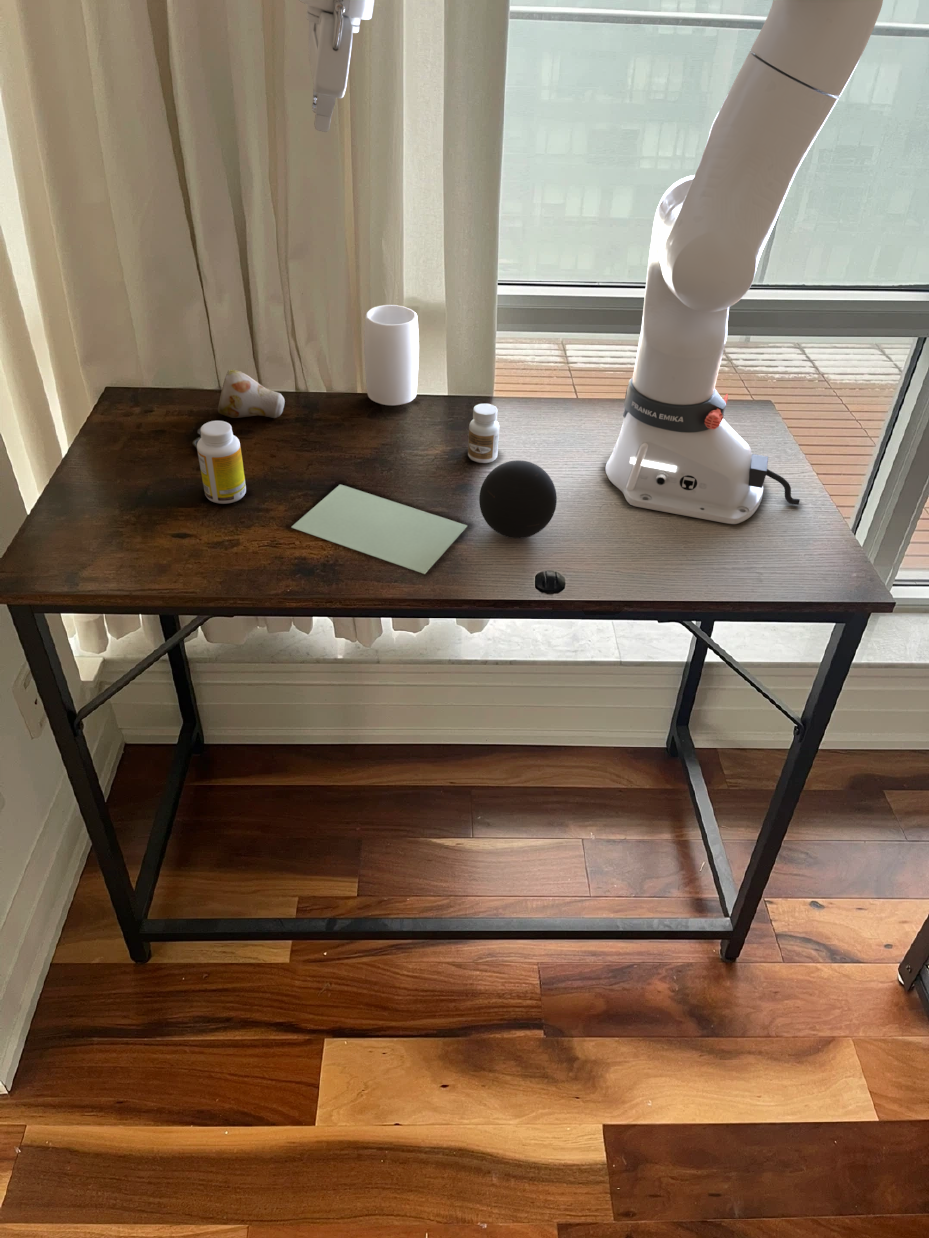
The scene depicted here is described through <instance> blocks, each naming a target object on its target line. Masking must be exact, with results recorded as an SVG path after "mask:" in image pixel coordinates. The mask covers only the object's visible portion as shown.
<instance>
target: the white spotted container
mask: <svg viewBox="0 0 929 1238" xmlns="http://www.w3.org/2000/svg"><path fill="white" fill-rule="evenodd" d="M218 401H219V402H218V406H217V407H218V408H217V410H218V412H217V413H218V414H220V415H222V416H224V417H227V418H232V419H241V418H248V417H256V416H257V417H259V416H260V417H266V418H271V419H277V418H279V417H281V415H282V414H283V412H284V408H285V402H286V401H285V397H284V396H283V395H282V393H280V392H278V391H275V390H271V389H268V388H267V387H264V386H263V385H262V384H261V383H259V382H258V381H256V380H255V379H254V378H252V377H251V376H249V374H246V373H245V372H242V371H240V370H236V369H228V370H227V372H226V374H225V376H224V380H223V384H222V387H221V391H220V396H219V400H218Z"/></svg>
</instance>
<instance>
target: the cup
mask: <svg viewBox="0 0 929 1238" xmlns="http://www.w3.org/2000/svg"><path fill="white" fill-rule="evenodd" d="M419 341H420V335H419V321H418V314H417V312H415V310H413V309H411V308H409V307H407V306H404V305H397V304H383V305H377V306H374V307H371V308H370V309H368V311H366V313H365V317H364V333H363V350H364V351H363V352H364V353H363V354H364V371H365V383H366V385H365V386H366V394H367V397H368V398H369V399H370V400H371V401H373V402H375V403H377V404H379V405H385V406H400V405H401V406H402V405H406V404H408V403H411V402H412V401H414V399H416V397H417V391H418V381H419V380H418V379H419V363H420V362H419V361H420V358H419V357H420V342H419Z"/></svg>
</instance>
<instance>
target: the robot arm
mask: <svg viewBox="0 0 929 1238" xmlns="http://www.w3.org/2000/svg"><path fill="white" fill-rule="evenodd" d="M298 1H299V2H301V3H302V4H305V5H306V13H305V18H306V20H307V21H308V62H309V67H310V74H311V80H312V99H311V110H312V112H313V113H314V114H315V116H314V129H315V131H319V132H323V133H329V131H330V127H331V122H332V116H333V112H334V110H335V106H336V100H337V99H343V98H344V97H345V95H346V91H347V85H348V80H349V79H348V78H349V72H350V71H349V70H350V63H351V55H352V47H353V36H354V35H353V34H357V33H359V32H360V25H361V20H362V21H363V20H364V21H369V20H372V18H373V12H374V6H375V0H298ZM883 3H884V0H772V4H771V7H770V9H769V12H768V13H767V17H766V19H765V21H764V23H763V24H762V27H761V28H760V31H759V33H758V35H757V36H756V39H755V40H754V42H753V44H752V46H751V47H750V50H749V52H748V54H747V56H746V58H745V60H744V61H743V64H742V65H741V68H740V69H739V71H738V73H737V75H736V78H735V79H734V81H733V82H732V85H731V87H730V89H729V90H728V93H727V95H726V96H725V99H724V101H723V103H722V104H721V106H720V108H719V110H718V112H717V114H716V116H715V118H714V120H713V122H712V124H711V127H710V130H709V133H708V134H709V135H708V138H707V141H706V143H705V147H704V150H703V152H702V155H701V158H700V160H699V163H698V165H697V168H696V171H695V173H694V175H689V176H685V177H683V178H680V179H679V180H677V181H675V182H674V183H673V184H672V185H671V186H670V187H668V188H667V190H666V191H665V192H664V194H663V195H662V197H661V199H660V201H659V203H658V206H657V207H656V211H655V214H654V219H653V225H652V232H651V240H650V245H649V247H650V248H649V255H648V262H647V263H648V264H647V271H646V281H645V289H644V290H645V291H644V299H643V300H644V301H643V310H642V320H641V328H640V334H639V339H638V346H637V351H636V357H635V363H634V367H633V373H632V377H631V378H630V379H629V380H628V384H627V387H626V391H625V396H624V402H623V415H622V416H623V421H622V425H621V429H620V430H619V434H618V438H617V440H616V442H615V445H614V447H613V450H612V453H611V454H610V457H609V458H608V460H607V462H606V464H605V474H606V476H607V478H608V480H609V481H610V482H611V484H613V485H614V486H615V487H616V488H617V489H618V490H620V491H621V493H622V494H623V496H624V498H625V500H626V502H627V503H628V504H629V505H631V506H633V507H637V508H642V509H647V510H653V511H657V512H658V511H659V512H662V513H663V512H664V513H670V514H675V515H680V516H685V517H690V518H696V519H701V520H706V521H711V522H717V523H723V524H728V525H738V524H740V523H743V522H745V521H746V520H748V519H749V518H751V517H752V516H753V515H754V514H755V512H756V511H757V510H758V509H759V506H760V505H761V502H762V499H763V494H764V483H765V479H766V476H767V477H769V478H771V479H773V480H774V481H775V482H777V483H779V484H781V486H782V487H783V488H784V499H785V501H786V502H787V503H788V504H790V505H797V506H799V504H800V501H801V499H800V498H793V497H792V488H791V485H790V483H789V481H788V480H787V479H786V478H784V477H783V476H781V475H779V474H777V473H776V472H774V471H772V470H770V469H769V468H768V466H769V465H768V464H769V456H767V455H761V454H756V453H752V448H751V446H750V445H749V444H748V442H747V441H745V439H743V437H742V436H740V434H738V433H737V432H736V430H735V429H734V428H733V427H732V426H731V425H730V424H729V423H728V422H727V421H726V419H724V416H725V413H726V409H727V404H728V399H729V394H728V393H726V394H725V395H724V397H722V396H721V395H720V393H719V392H718V390H717V389H716V385H717V380H718V376H719V371H720V369H721V368H720V367H721V363H722V359H723V354H724V351H725V347H726V343H727V338H728V321H729V311H730V307H732V306H734V305H736V304H737V303H738V302H739V301H741V299H743V297H745V295H746V294H747V293H748V291H749V290H750V289H751V286H752V284H753V282H754V280H755V276H756V273H757V268H758V265H759V261H760V258H761V256H762V253H763V250H764V248H765V246H766V244H767V242H768V240H769V238H770V235H771V233H772V231H773V228H774V226H775V225H776V222H777V219H778V217H779V215H780V212H781V210H782V207H783V205H784V203H785V199H786V197H787V195H788V192H789V190H790V187H791V185H792V183H793V181H794V178H795V176H796V174H797V172H798V170H799V168H800V167H801V165H802V163H803V161H804V159H805V157H806V156H807V154H808V152H809V150H810V149H811V147H812V145H813V144H814V142H815V140H816V138H817V137H818V135H819V133H820V131H821V130H822V128H823V126H824V125H825V123H826V122H827V120H828V118H829V116H830V114H831V113H832V111H833V109H834V108H835V106H836V104H837V103H838V102H839V101H838V100H839V99H840V97H841V96H842V94H843V92H844V90H845V89H846V87H847V85H848V83H849V82H850V79H851V78H852V76H853V74H854V72H855V70H856V68H857V66H858V64H859V63H860V60H861V58H862V56H863V54H864V51H865V49H866V48H867V45H868V42H869V40H870V38H871V36H872V33H873V31H874V28H875V25H876V23H877V21H878V18H879V15H880V13H881V10H882V7H883Z"/></svg>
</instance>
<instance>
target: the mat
mask: <svg viewBox="0 0 929 1238" xmlns="http://www.w3.org/2000/svg"><path fill="white" fill-rule="evenodd" d="M290 528H291V529H294V530H296V531H299V532H303V533H305V534H308V535H311V536H314V537H317V538H320V539H323V540H324V541H328V542H331V543H334V544H337V545H340V546H342V547H345V548H347V549H351V550H353V551H356V552H359V553H362V554H365V555H368V556H371V557H373V558H376V559H380V560H383V561H385V562H389V563H391V564H393V565H397V566H400V567H403V568H405V569H409V570H411V571H414V572H417V573H419V574H423V575H426V574H427V573H428V572H429V570H430V569H432V567H433V566H434V565H435V564H436V563H437V561H439V559H441V557H442V556H443V554H444V553H445V552H446V551H447V550H448V549H449V548H450V547H451V546H452V545H453V543H454V542H455V541H456V540H457V539H458V538H459V537H460V536H461V534H462V533H463V532H464V531H465V530H466V529H467V528H468V525H467V524H464V523H461V522H457V521H455V520H451V519H448V518H446V517H442V516H440V515H436V514H434V513H430V512H427V511H424V510H421V509H418V508H414V507H411V506H408V505H406V504H402V503H399V502H396V501H394V500H390V499H387V498H384V497H380V496H378V495H375V494H371V493H370V492H369V493H368V492H366V491H362V490H360V489H356V488H354V487H350V486H347V485H343V484H338V486H336V487H335V488H334V489H333V490H331V491H330V492H329V493H328V494H327V495H326V496H325V497H324V498H322V500H320V501H319V502H318V503H317V504H315V506H314V507H312V508H311V509H310V510H309V511H307V512H306V513H305V514H304V515H303V516H301V518H299V520H297V521H296V522H295V523H294V524H293V525H291V527H290Z"/></svg>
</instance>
